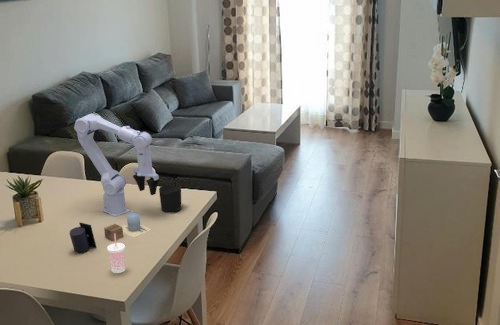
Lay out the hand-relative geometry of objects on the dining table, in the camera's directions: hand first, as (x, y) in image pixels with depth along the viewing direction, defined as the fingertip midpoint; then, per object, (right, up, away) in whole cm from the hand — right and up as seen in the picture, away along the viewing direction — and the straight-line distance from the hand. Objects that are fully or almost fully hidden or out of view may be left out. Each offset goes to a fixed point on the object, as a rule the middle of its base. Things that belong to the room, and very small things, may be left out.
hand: (147, 192), depth 233 cm
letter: (-4, -15, -10) cm, 18 cm away
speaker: (-19, -20, -26) cm, 38 cm away
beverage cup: (-3, -25, -40) cm, 47 cm away
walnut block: (-10, -17, -16) cm, 26 cm away
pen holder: (+9, -8, +9) cm, 15 cm away
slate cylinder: (-4, -14, -10) cm, 18 cm away
